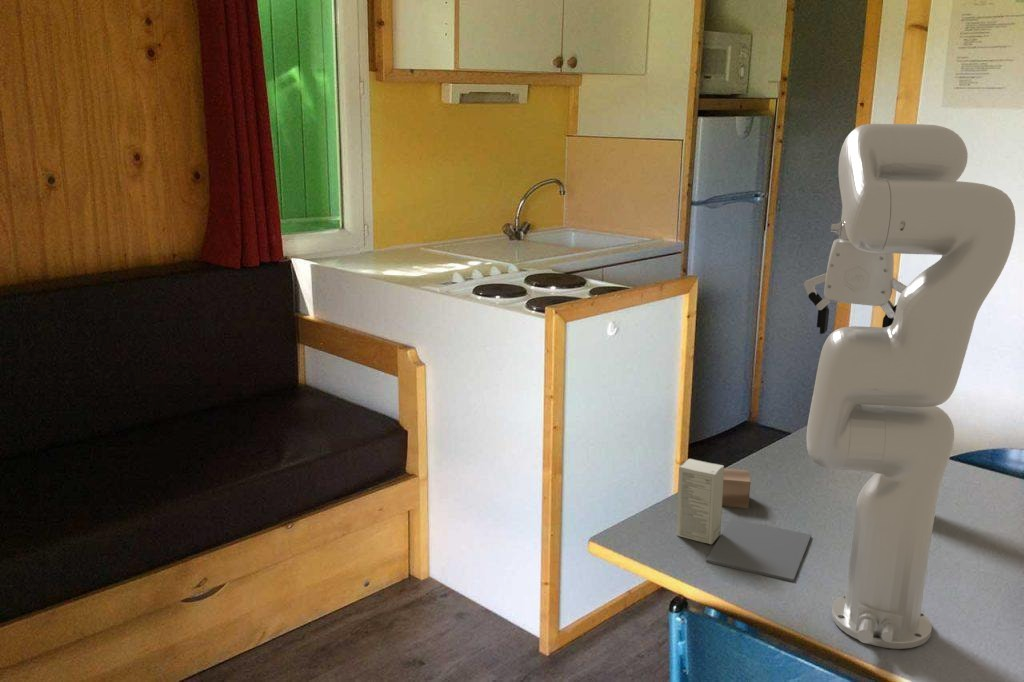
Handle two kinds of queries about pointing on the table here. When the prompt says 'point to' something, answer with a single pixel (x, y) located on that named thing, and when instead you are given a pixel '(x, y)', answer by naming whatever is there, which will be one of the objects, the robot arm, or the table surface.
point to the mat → (760, 549)
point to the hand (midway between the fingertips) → (853, 335)
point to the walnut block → (736, 488)
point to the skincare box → (700, 500)
